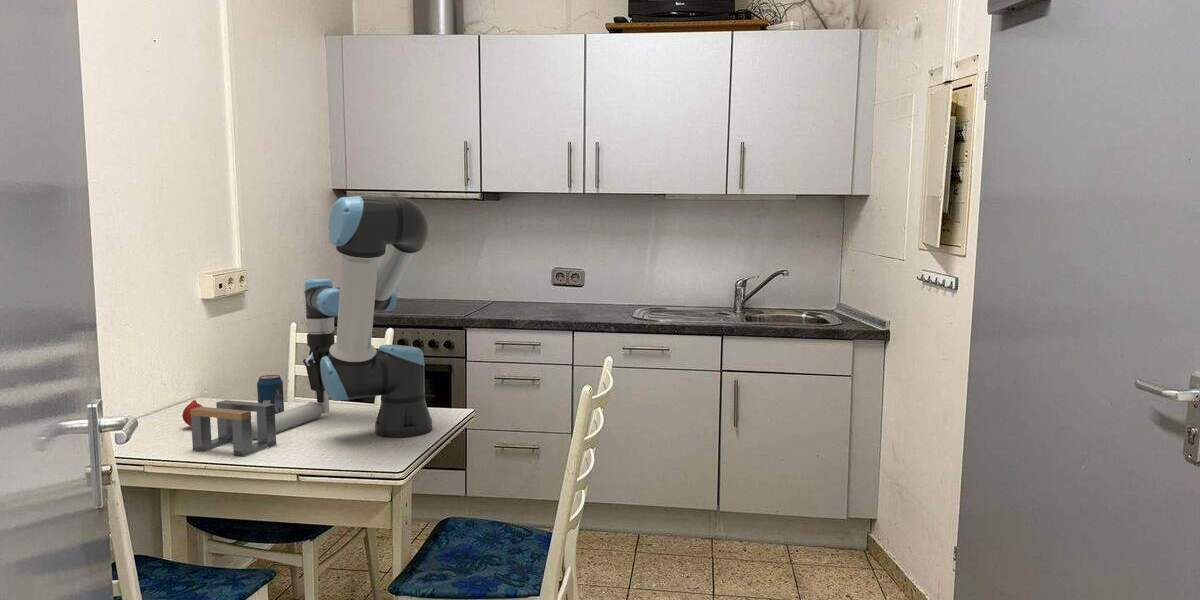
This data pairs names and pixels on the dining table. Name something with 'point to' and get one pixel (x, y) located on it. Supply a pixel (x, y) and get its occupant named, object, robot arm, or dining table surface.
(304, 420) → the tube
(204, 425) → the gray frame
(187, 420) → the onion
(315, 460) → the dining table surface
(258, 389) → the soda can
